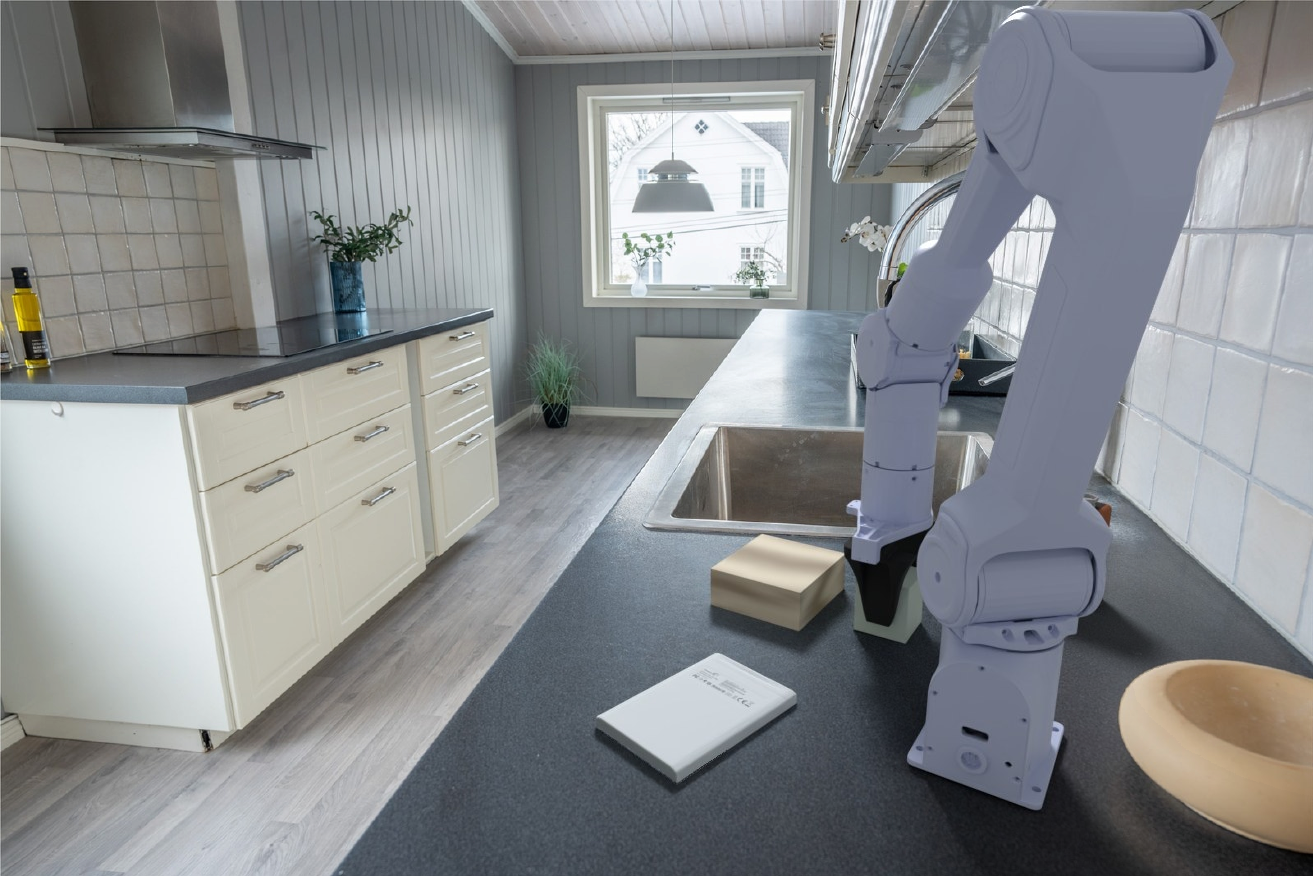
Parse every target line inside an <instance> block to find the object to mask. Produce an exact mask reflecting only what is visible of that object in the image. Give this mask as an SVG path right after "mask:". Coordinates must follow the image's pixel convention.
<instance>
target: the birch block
mask: <svg viewBox="0 0 1313 876" xmlns="http://www.w3.org/2000/svg"><path fill="white" fill-rule="evenodd" d="M845 573H846V558H845V556H844V552H841V551H837V550H833V549H828V548H824V547H820V546H816V545H811V544H807V543H802V542H799V541H794V540H789V539H785V538H783V537H782V538H781V537H777V536H773V535H769V534H764V533H761V534H759V535H758V536H757V537H755V538H753V539H752V540H751V541H749V542H747V543H746V544H745V545H742V546H741V548H739V549H738V550H736V551H734V552H733V553H731V554H729V555H728V556H727V557H725V558H724V559H722V560H721V561H719V562H718V563H717V564H715V565H714V566H712V567H711V568H710V605H711V606H714V607H717V608H720V609H723V610H727V611H730V612H734V613H737V614H740V615H743V616H747V617H750V618H754V619H757V620H761V621H764V622H768V623H769V624H773V625H777V626H779V627H783V628H787V629H790V630H793V631H796V632H800V631H801V630H802V629H803V628H804V627H805V626H806V625H807V624H808V623H809V622H810V621H811V620H813V618H815V617H816V616H817V615H818V614H819V613H820V612H821V611H822V610H823V609H824V608H825V607H826V606H827V605H829V603H830V602H831V601H832V600H834V599H835V598H836V597H837V596H838V594H840V593H841V592H842V591H843V590H844V589H845V576H846V575H845Z"/></svg>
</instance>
